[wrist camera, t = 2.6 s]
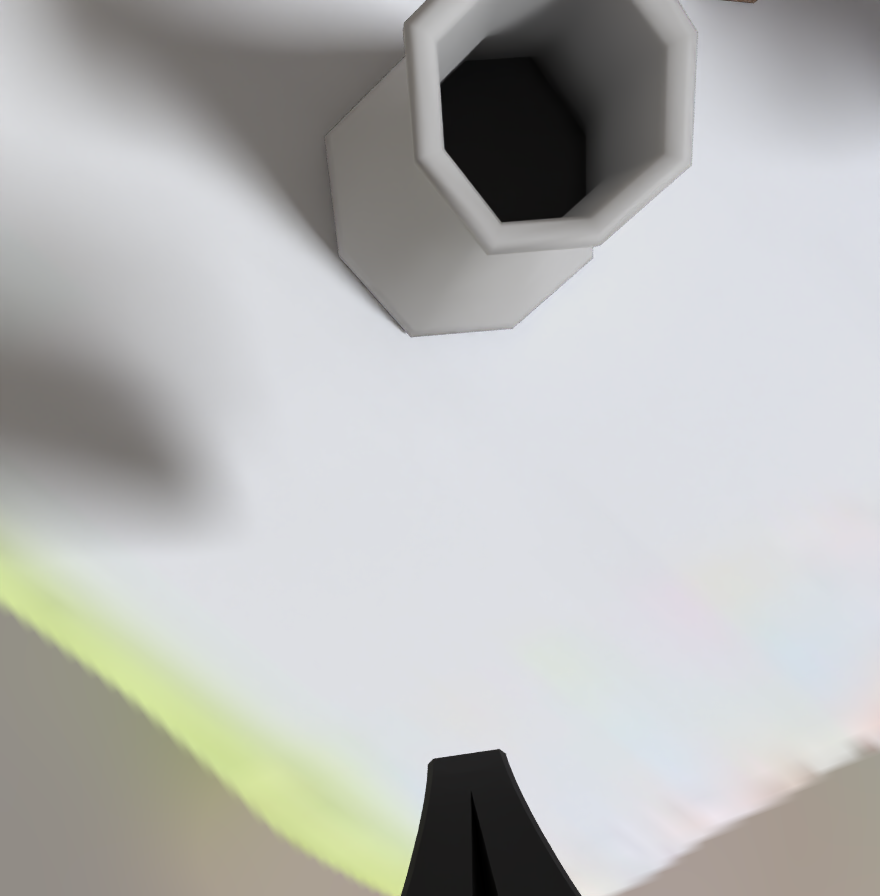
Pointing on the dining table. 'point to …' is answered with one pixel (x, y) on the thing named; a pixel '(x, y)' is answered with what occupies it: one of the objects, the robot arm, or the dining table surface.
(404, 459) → the dining table surface
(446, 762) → the robot arm
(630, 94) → the flask
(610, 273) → the dining table surface
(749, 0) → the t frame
